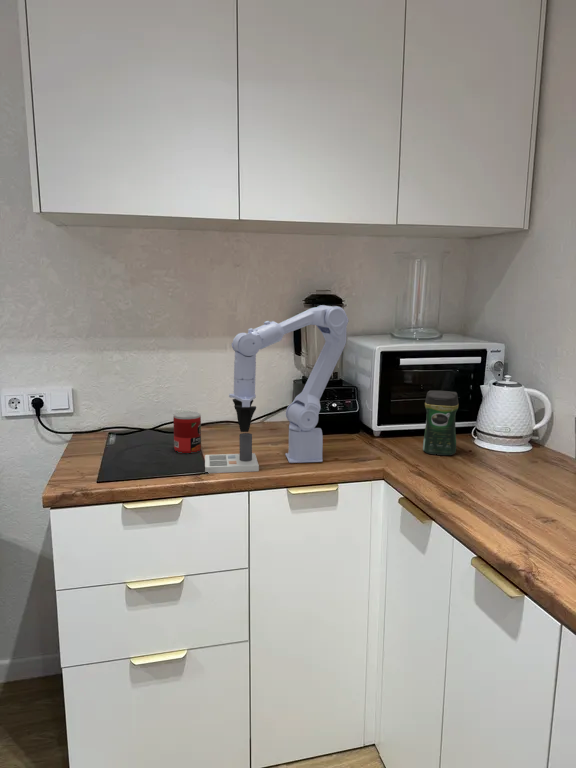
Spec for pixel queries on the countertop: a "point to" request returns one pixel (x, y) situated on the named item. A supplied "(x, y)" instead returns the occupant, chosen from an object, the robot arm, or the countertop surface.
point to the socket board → (229, 463)
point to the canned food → (187, 431)
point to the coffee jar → (440, 422)
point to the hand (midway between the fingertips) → (243, 428)
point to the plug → (245, 446)
